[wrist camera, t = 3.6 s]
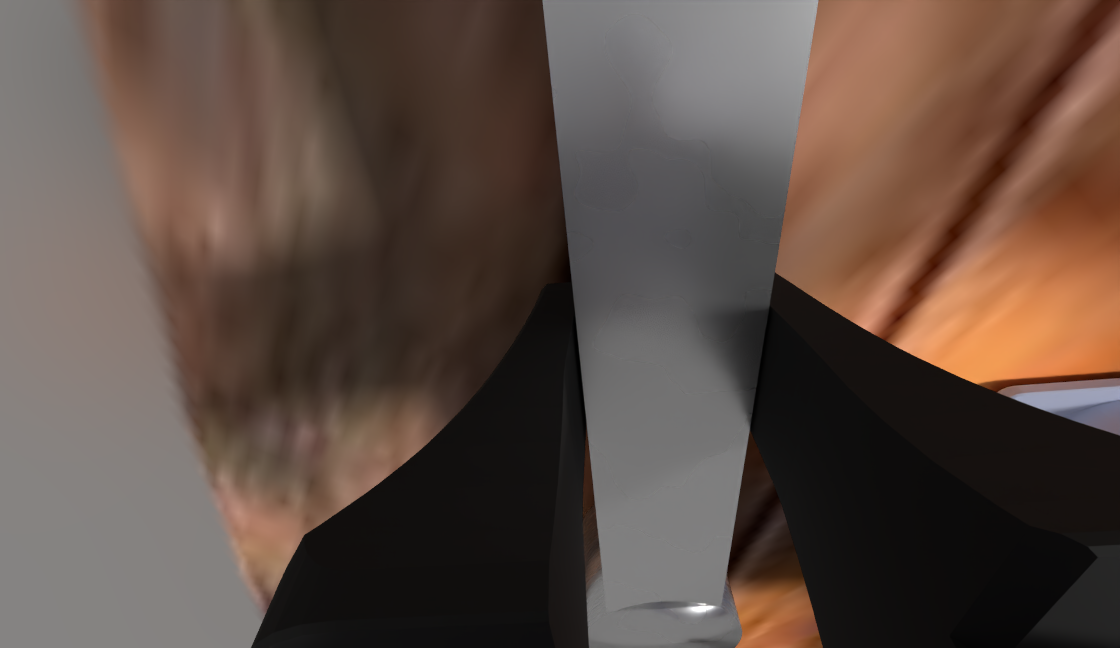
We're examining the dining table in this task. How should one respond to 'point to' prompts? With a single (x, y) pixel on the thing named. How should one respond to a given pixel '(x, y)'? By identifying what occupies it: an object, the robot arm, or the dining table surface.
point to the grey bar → (671, 284)
